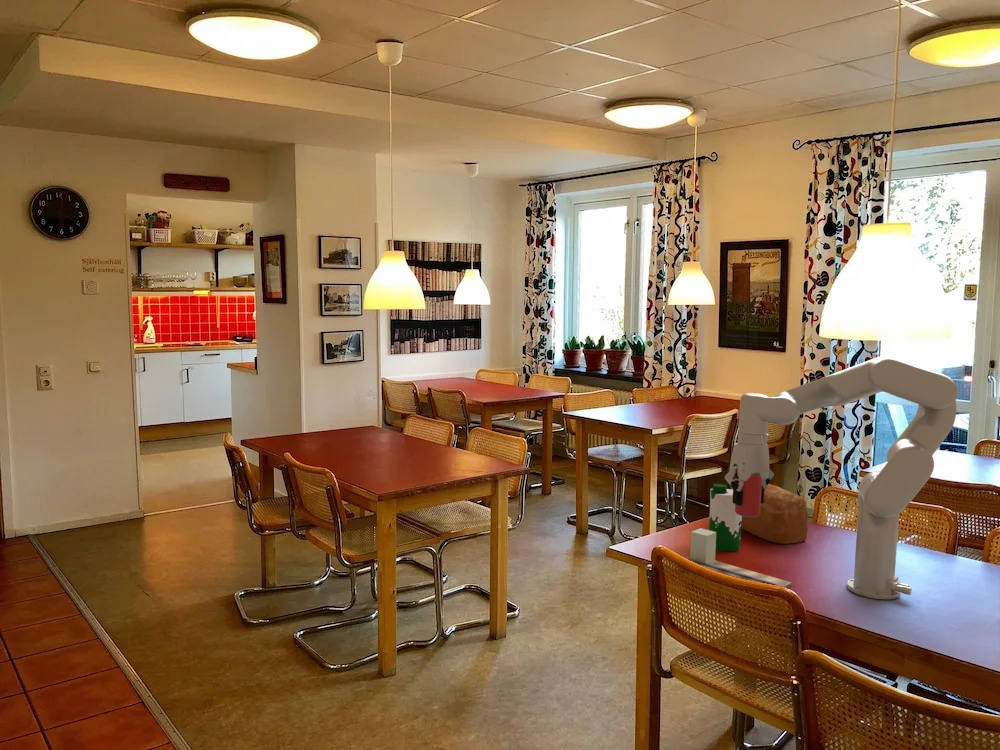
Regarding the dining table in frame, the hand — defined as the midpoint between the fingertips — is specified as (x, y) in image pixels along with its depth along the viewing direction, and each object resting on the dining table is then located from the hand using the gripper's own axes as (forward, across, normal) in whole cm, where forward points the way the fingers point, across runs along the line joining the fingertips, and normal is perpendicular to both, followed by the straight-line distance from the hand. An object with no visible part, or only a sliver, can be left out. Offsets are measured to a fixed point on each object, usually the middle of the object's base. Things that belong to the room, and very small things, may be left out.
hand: (747, 502), depth 209 cm
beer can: (+3, 0, 0) cm, 3 cm away
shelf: (+20, +4, +1) cm, 20 cm away
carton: (+19, +7, -8) cm, 22 cm away
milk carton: (+20, -8, -18) cm, 28 cm away
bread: (+20, -33, -29) cm, 48 cm away
